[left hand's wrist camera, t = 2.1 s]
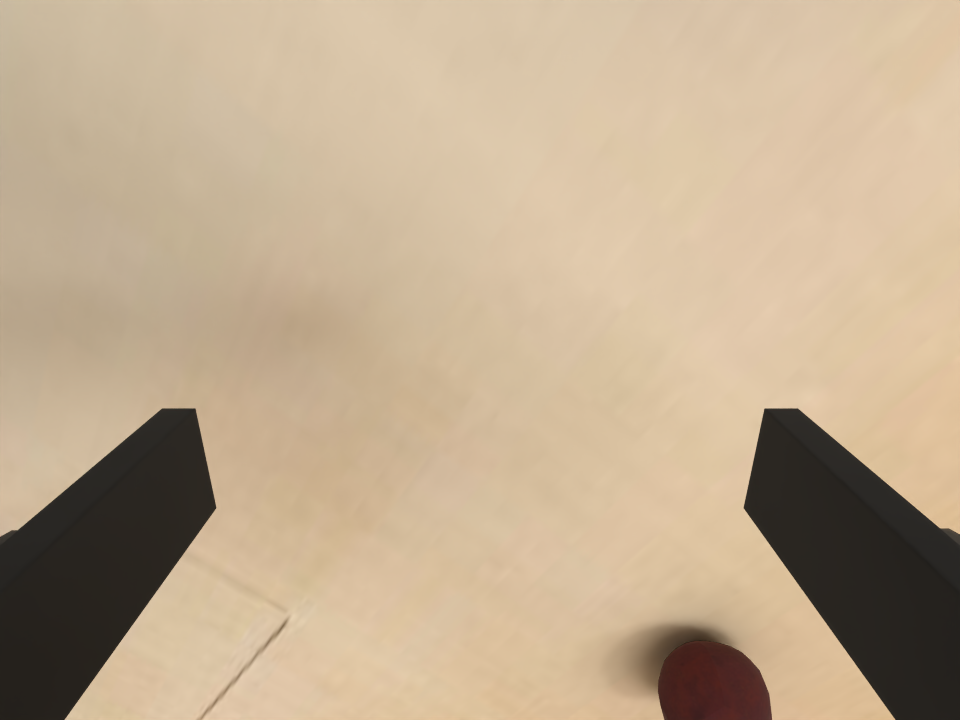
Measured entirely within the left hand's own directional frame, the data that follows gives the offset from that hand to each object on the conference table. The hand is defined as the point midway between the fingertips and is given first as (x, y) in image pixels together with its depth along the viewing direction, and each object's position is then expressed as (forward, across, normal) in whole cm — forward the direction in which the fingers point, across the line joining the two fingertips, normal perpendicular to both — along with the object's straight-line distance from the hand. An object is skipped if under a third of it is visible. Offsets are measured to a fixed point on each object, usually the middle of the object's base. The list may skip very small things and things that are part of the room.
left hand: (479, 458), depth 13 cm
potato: (+20, +16, -29) cm, 39 cm away
